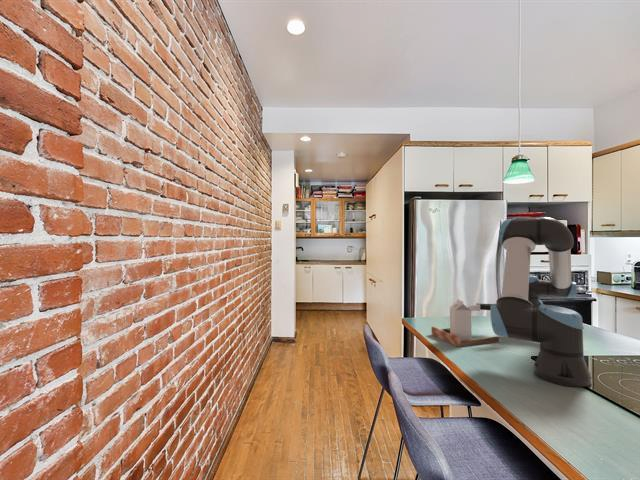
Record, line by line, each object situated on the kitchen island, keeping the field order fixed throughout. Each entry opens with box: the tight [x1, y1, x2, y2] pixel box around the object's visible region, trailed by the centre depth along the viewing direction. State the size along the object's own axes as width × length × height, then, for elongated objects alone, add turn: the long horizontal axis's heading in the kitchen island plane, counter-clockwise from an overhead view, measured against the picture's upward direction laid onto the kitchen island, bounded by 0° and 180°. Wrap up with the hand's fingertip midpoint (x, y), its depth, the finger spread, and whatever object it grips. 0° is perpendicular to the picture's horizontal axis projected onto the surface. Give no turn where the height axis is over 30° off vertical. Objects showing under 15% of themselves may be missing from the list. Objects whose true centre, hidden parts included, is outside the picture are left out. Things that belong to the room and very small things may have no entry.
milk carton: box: [449, 298, 473, 341], centre depth 141 cm, size 7×7×19 cm
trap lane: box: [431, 326, 500, 348], centre depth 145 cm, size 19×22×4 cm
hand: (479, 311), depth 145 cm, fingers open, 13 cm apart
